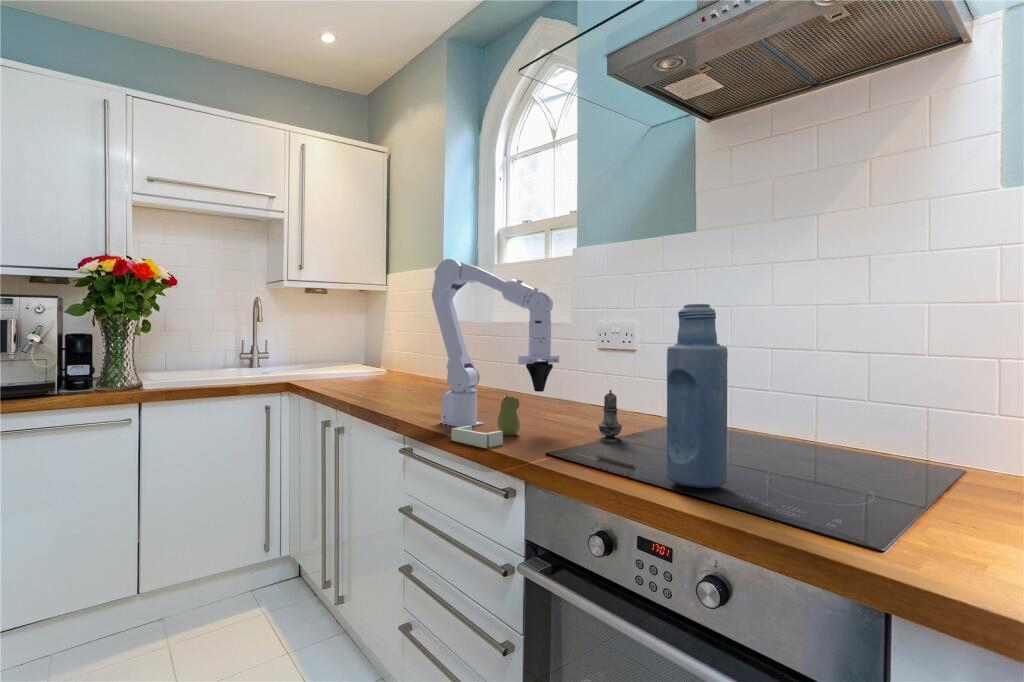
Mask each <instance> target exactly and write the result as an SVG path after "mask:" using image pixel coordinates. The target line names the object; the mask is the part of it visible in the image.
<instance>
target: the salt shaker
mask: <svg viewBox="0 0 1024 682" xmlns="http://www.w3.org/2000/svg"><path fill="white" fill-rule="evenodd" d="M603 397H604V399H603V400H604V401H603V404H604V407H602V410H603V419H602V422H601V423H598V424H597V426H598V430H599V433H600V434H601V435H603V436H601V437H600V438H598V440H599V441H601V442H605V443H618V442H621V441H622V439H621V438H620V437H619V434H620V433H621V431H622V428H623V424H621V423H619V422H618V421H619V420H618V411H619V408H618V407H617V401H618V399H617V397H618V396H617V395H616V394H614V393H613V392H612V389H610V390H609V391H608V393H606V394H605V395H604V396H603ZM617 436H618V437H617Z"/></svg>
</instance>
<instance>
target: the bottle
mask: <svg viewBox="0 0 1024 682" xmlns="http://www.w3.org/2000/svg"><path fill="white" fill-rule="evenodd" d="M677 317H678V324H679V325H678V330H677V331H678V332H677V336H676V337H677V341H676V343H675V344H674V345H670V346H668V347H667V351H666V478H667V479H668V480H669V481H671V482H672V483H674V484H677V485H681V486H685V487H693V488H697V489H698V488H700V489H701V488H702V489H703V488H704V489H708V488H718V487H722V486H724V485H725V484H727V478H728V476H727V473H728V471H727V467H728V466H727V465H728V463H727V462H728V460H727V454H728V453H727V448H728V447H727V446H728V442H727V441H728V440H727V439H728V438H727V437H728V358H729V357H728V356H729V355H728V354H729V353H728V348H727V346H724V345H721V344H720V343H718V335H717V329H716V318H717V313H716V311H715V308H712V307H711V306H710V304H709V303H691V304H690V303H689V304H688V303H687V304H685V305H683V308H681V309H680V310H679V311H678V312H677Z"/></svg>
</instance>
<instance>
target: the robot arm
mask: <svg viewBox="0 0 1024 682" xmlns="http://www.w3.org/2000/svg"><path fill="white" fill-rule="evenodd" d="M476 282H478V283H480V284H482V285H484V286H487V287H489V288H491V289H494V290H496V291H499V292H501V294H502V297H503V299H504V300H506V301H508V302H510V303H512V304H514V305H516V306H519V307H520V308H523V309H528V311H529V320H528V355H518V360H517V361H518V364H519V365H525V368H526V370H527V372H529V376H530V377H531V381H532V385H533V390H534V392H539V393H541V392H544V391H545V387H546V383H547V380H548V377H549V375H550V373H551V371H552V369H553V367H554V365H553V363H556V364H557V363H558V364H559V363H560V355H556V354H555V355H553V354H552V353H551V352H552V349H551V348H552V321H551V319H552V318H551V317H552V312H551V311H552V310H553V307H554V302H553V298H552V297H551V296H550V295H548V293H546V292H542V291H539V288H538V287H535V286H534V287H531V286H529V285H527V284H525V283H523V280H521V279H519V278H517V279H513V278H512V279H510V280H507V281H506V280H504V279H502V278H500V277H498V276H496V275H494V274H493V273H490V272H488V271H486V270H483V269H481V268H479V267H477V266H475V265H472V264H468V263H465V262H462V261H457V260H455V259H453V258H446V259H445V258H444V259H443V260H441V262H440V263H439V264H438V266H437V267H436V269H435V270H434V281H433V286H432V292H431V299H432V303H433V306H434V311H435V314H436V318H437V321H438V325H439V329H440V332H441V333H440V334H441V336H442V339H443V343H444V347H445V350H446V355H447V359H448V360H447V364H446V369H447V376H446V382H447V383H446V384H447V385H448V387H449V388H450V389H449V390H448V391H446V392H445V393H444V395H443V396H442V398H441V421H439V422H438V423H439V424H440V423H442V424H441V425H445V424H447V425H446V426H450V425H451V427H455V428H457V427H464V426H472V427H474V426H481V425H484V424H485V423H484V422H482V421H478V420H477V419H478V389H477V386H478V384H480V383H479V382H480V379H481V375H480V373H479V372H480V371H479V370H478V369H477V368H476V367H475V366H474V362H473V359H472V358H471V357H470V356H469V354H468V350H467V348H466V347H467V346H466V344H465V340H464V337H463V333H462V329H461V326H460V322H459V319H458V315H457V312H456V308H455V303H454V300H453V299H454V297H455V296H456V294H457V293H458V291H460V290H461V289H462V288H463V287H464V286H465V285H467V284H468V283H470V284H472V283H476Z"/></svg>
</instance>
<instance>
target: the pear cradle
mask: <svg viewBox="0 0 1024 682" xmlns="http://www.w3.org/2000/svg"><path fill="white" fill-rule="evenodd" d="M472 427H473V426H464V427H452V428H451V441H453V442H457V443H462V444H466V445H470V446H475V447H478V448H483V449H488V447H489V448H494V447H497V446H501V445H503V443H504V440H503V439H504V435H503V431H499V430H496V431H490V432H480V431H475V430H473V428H472ZM493 446H494V447H493Z"/></svg>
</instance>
